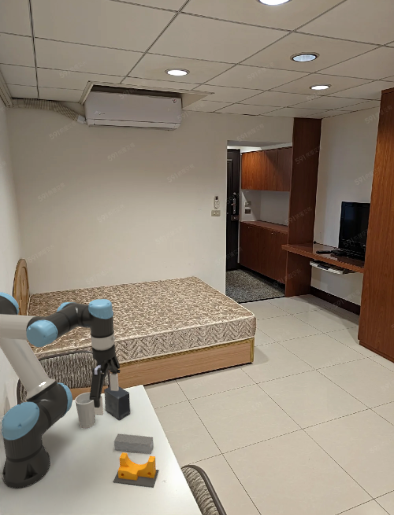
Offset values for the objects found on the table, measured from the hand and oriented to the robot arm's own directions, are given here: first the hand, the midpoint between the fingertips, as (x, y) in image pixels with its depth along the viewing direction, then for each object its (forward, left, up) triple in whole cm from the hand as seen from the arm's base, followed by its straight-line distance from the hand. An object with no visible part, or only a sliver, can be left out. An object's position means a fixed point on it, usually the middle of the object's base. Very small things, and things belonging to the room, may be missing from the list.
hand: (107, 401), depth 122 cm
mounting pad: (+11, -5, -25) cm, 27 cm away
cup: (-18, +18, -25) cm, 36 cm away
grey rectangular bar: (+6, +7, -25) cm, 26 cm away
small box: (-8, +27, -25) cm, 38 cm away
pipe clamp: (+11, -5, -24) cm, 27 cm away
